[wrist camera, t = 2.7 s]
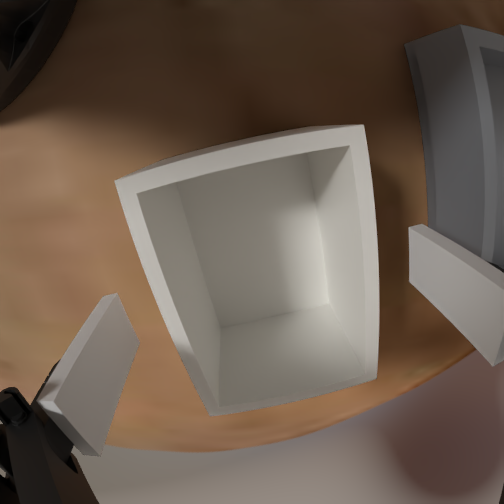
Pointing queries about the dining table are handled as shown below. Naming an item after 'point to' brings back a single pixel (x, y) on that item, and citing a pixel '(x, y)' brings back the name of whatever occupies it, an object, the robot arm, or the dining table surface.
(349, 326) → the white crate
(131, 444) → the dining table surface
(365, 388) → the dining table surface
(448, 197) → the slate crate
